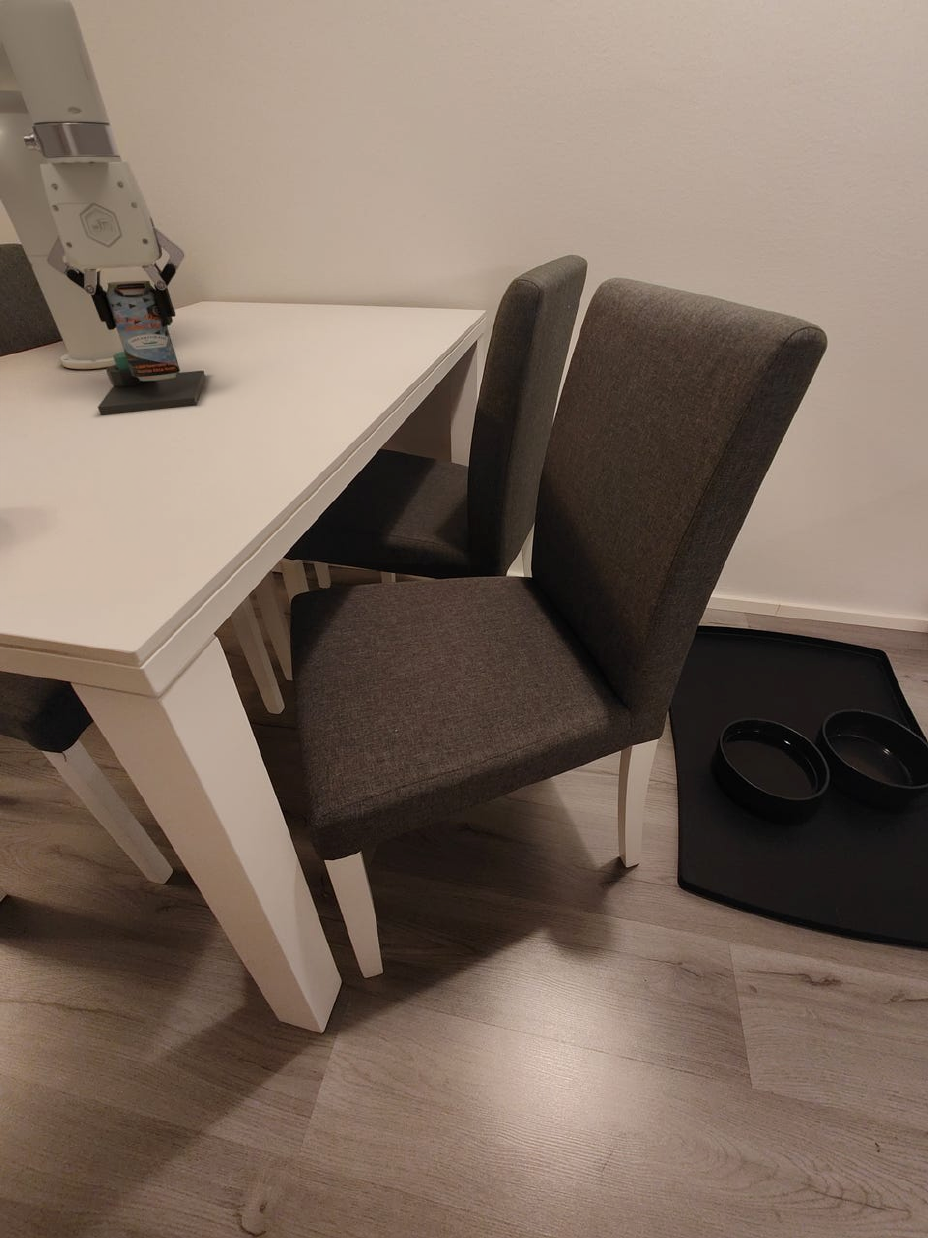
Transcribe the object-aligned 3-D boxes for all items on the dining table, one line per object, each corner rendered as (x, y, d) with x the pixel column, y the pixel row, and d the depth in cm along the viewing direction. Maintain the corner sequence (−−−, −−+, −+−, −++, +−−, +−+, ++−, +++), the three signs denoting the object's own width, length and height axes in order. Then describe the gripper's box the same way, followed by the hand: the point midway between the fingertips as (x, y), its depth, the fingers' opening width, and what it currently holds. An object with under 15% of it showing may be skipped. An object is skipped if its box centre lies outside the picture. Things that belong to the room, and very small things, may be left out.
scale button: (120, 367, 83) (115, 352, 82) (142, 365, 84) (137, 350, 82) (116, 372, 81) (110, 357, 80) (139, 370, 81) (133, 355, 80)
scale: (119, 384, 86) (111, 363, 84) (205, 376, 88) (199, 355, 86) (96, 415, 75) (87, 391, 73) (196, 405, 77) (189, 382, 75)
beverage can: (134, 390, 75) (95, 285, 67) (136, 376, 80) (99, 278, 73) (185, 383, 77) (152, 281, 69) (183, 370, 82) (152, 274, 75)
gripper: (-20, 147, 58) (61, 337, 70) (157, 144, 62) (208, 325, 73) (6, 150, 64) (77, 325, 75) (167, 146, 67) (212, 315, 79)
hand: (141, 323), depth 74 cm, fingers closed on beverage can, 6 cm apart
